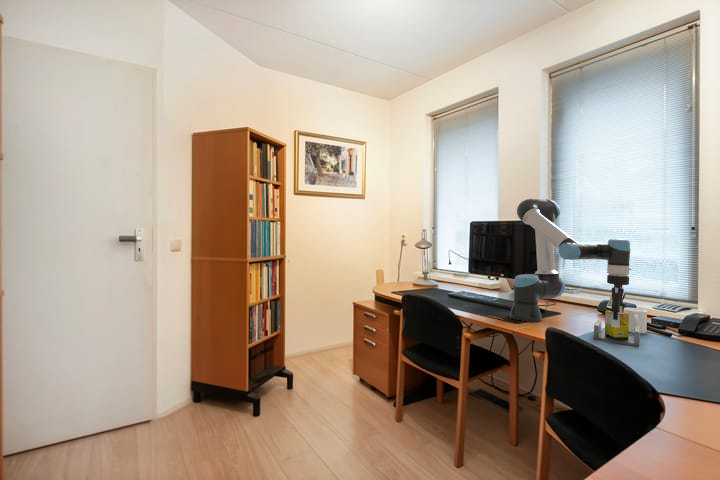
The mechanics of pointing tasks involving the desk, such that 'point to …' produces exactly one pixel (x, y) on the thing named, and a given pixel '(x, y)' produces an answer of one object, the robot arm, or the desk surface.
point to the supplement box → (623, 328)
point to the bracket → (630, 341)
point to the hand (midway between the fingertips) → (616, 323)
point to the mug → (637, 319)
